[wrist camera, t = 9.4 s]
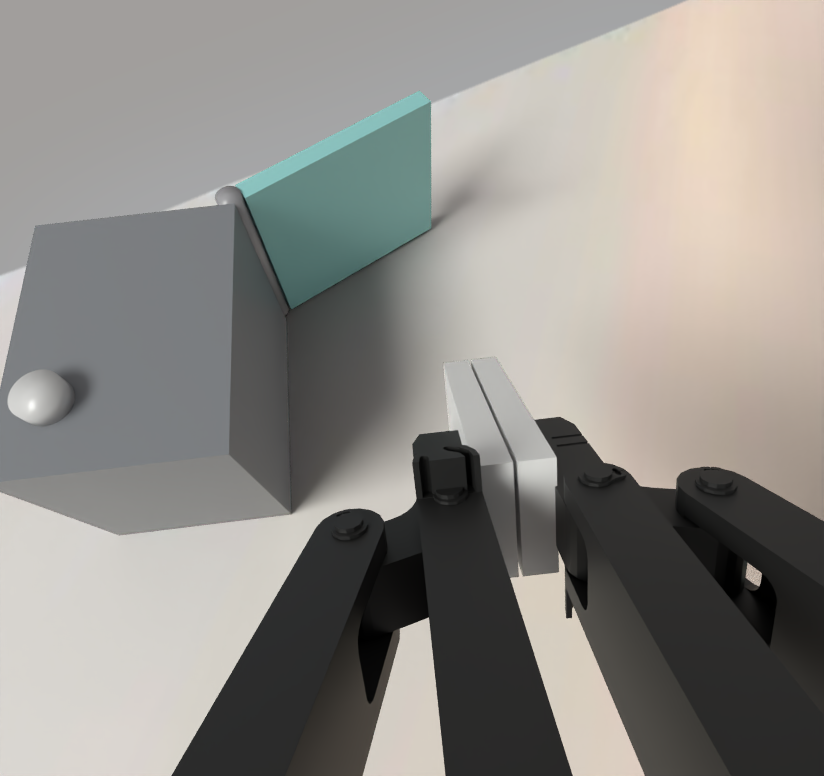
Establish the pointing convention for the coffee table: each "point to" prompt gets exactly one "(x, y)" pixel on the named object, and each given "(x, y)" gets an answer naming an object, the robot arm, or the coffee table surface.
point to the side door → (340, 201)
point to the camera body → (147, 375)
